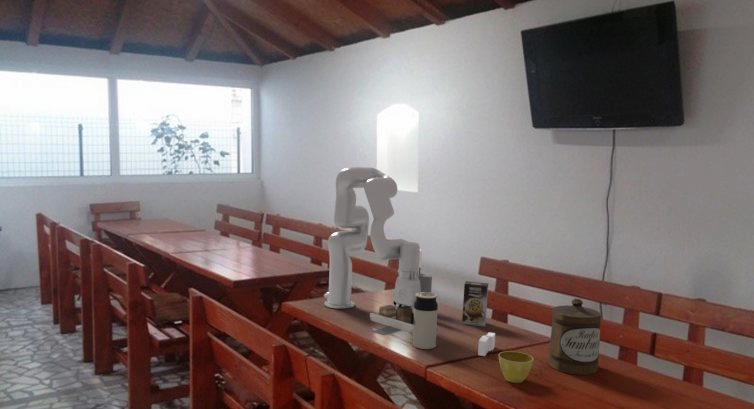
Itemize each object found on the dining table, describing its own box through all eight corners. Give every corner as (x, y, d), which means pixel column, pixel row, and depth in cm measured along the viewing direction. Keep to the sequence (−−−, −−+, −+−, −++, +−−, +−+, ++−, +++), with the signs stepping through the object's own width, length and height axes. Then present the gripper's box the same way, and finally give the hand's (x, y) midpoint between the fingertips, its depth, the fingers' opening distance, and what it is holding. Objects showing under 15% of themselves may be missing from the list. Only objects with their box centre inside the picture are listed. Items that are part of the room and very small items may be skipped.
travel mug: (437, 344, 216) (440, 293, 214) (433, 351, 208) (435, 298, 207) (415, 341, 218) (417, 290, 216) (410, 348, 210) (412, 295, 209)
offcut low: (376, 320, 243) (376, 313, 242) (390, 316, 248) (390, 310, 248) (382, 322, 240) (382, 315, 240) (396, 318, 246) (396, 312, 246)
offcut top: (379, 313, 243) (379, 306, 243) (389, 310, 248) (389, 304, 248) (385, 315, 241) (385, 308, 241) (395, 312, 245) (396, 306, 245)
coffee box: (461, 324, 242) (463, 283, 241) (463, 320, 249) (465, 280, 247) (485, 326, 240) (487, 285, 239) (486, 322, 247) (488, 282, 245)
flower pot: (526, 374, 189) (528, 351, 189) (536, 386, 179) (537, 362, 178) (493, 373, 189) (495, 350, 188) (501, 385, 179) (503, 361, 178)
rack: (369, 320, 242) (370, 313, 242) (390, 315, 251) (390, 308, 251) (412, 333, 227) (413, 325, 227) (433, 328, 236) (433, 320, 235)
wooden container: (565, 376, 189) (570, 305, 187) (539, 360, 203) (544, 294, 201) (607, 373, 193) (612, 303, 191) (579, 358, 207) (583, 292, 205)
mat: (371, 332, 227) (371, 331, 227) (389, 327, 234) (389, 326, 234) (382, 335, 223) (383, 334, 223) (401, 330, 230) (401, 329, 230)
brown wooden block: (396, 326, 235) (397, 307, 235) (410, 322, 241) (411, 304, 240) (402, 327, 233) (403, 309, 233) (416, 324, 239) (417, 306, 238)
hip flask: (431, 319, 247) (433, 270, 246) (423, 321, 245) (426, 271, 243) (406, 310, 260) (408, 263, 258) (398, 312, 258) (400, 264, 256)
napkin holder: (482, 360, 202) (483, 343, 201) (460, 350, 212) (461, 333, 211) (516, 354, 210) (517, 337, 209) (493, 344, 219) (494, 328, 219)
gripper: (385, 272, 239) (383, 317, 240) (419, 280, 227) (417, 327, 228) (398, 270, 244) (396, 314, 246) (432, 277, 232) (430, 324, 234)
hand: (406, 320), depth 237 cm, fingers open, 6 cm apart
